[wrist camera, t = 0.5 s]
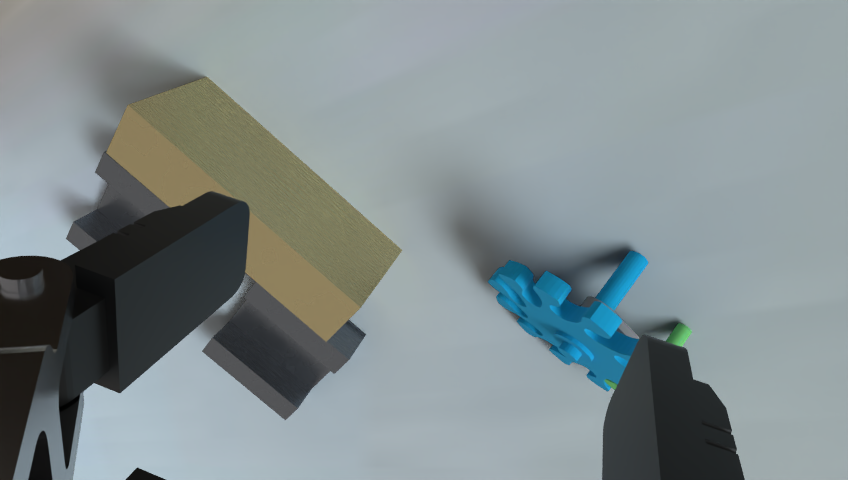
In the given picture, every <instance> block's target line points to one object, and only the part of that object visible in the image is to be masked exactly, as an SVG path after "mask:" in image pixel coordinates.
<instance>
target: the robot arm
mask: <svg viewBox="0 0 848 480" xmlns="http://www.w3.org/2000/svg"><path fill="white" fill-rule="evenodd" d="M249 219H250V210H249V206H248V204H247V203H246V202H244V201H241V200H238V199H235V198H232V197H229V196H226V195H223V194H220V193H217V192H213V191H209V192H207V193H205V194H203V195H201V196H199V197H197V198H196V199H194V200H192V201H190V202H188V203H186V204H185V205H183V206H181V205H179V206H175V207H171V208H166V209H162V210H158V211H154V212H152V213H150V214H148V215H146V216H144V217H142V218H140V219H139V220H137V221H135V222H134V224H133V225H132V224H129V225H127V226H125V227H123V228H122V229H120V230H118V232H117V234H116V233H112V234H110V235H108V236H106V237H104V238H103V239H101V240H99V241H97V242H95V243H93V244H91V245H89V246H87V247H86V248H84V249H82V250H80V251H78V252H76V253H74V254H72V255H70V256H68V257H67V258H65V259H63V260H61V261H60V260H57V259H54V258H49V257H43V256H18V257H10V258H5V259H1V260H0V480H73V474H74V468H75V461H76V454H77V448H78V441H79V434H80V428H81V421H82V414H83V408H84V396H83V391H84V390H86V389H87V388H88V387H89V386H91V385H92V384H93V383H96V384H98V385H101V386H103V387H106V388H108V389H110V390H113V391H115V392H118V393H121V392H122V391H123V390H124V389H125V388H127V387H128V386H129V385H130V384H131V383H132V382H134V381H135V380H136V379H137V378H138V377H139V376H141V375H142V374H143V373H144V372H145V371H146V370H148V369H149V368H150V367H151V366H152V365H153V364H155V363H156V362H157V361H158V360H159V359H160V358H162V357H163V356H164V355H165V354H166V353H167V352H168V351H170V350H171V349H172V348H173V347H174V346H175V345H177V344H178V343H179V342H180V341H181V340H182V339H184V338H185V337H186V336H187V335H188V334H189V333H191V332H192V331H193V330H194V329H195V328H196V327H198V326H199V325H200V324H201V323H202V322H203V321H204V320H206V319H207V318H208V317H209V316H210V315H211V314H213V313H214V312H215V311H216V310H217V309H218V308H220V307H221V306H222V305H223V304H224V303H225V302H227V301H228V300H229V299H230V298H231V297H232V296H233V295H234V294H235V293H236V292H237V290H238V289H239V287H240V285H241V283H242V280H243V278H244V274H245V270H246V259H247V246H248V232H249ZM731 432H732V429H731V425H730V421H729V418H728V414H727V410H726V407H725V406H724V405H723V403H722V402H721V401H720V399H719V398H718V396H717V395H716V394H715V392H714V391H713V390H712V388H711V387H710V386H709V385H708V384H705V383H702V382H699V381H696V380H693V376H692V371H691V366H690V361H689V356H688V352H687V349H686V348H684V347H681V346H678V345H675V344H672V343H669V342H666V341H663V340H660V339H657V338H654V337H651V336H648V335H643V336H642V337H641V338H640V339H639V341H638V342H637V344H636V346H635V348H634V351H633V353H632V355H631V357H630V359H629V361H628V363H627V366H626V368H625V370H624V372H623V374H622V376H621V378H620V381H619V383H618V385H617V387H616V389H615V391H614V393H613V395H612V398H611V400H610V403H609V406H608V409H607V412H606V416H605V421H604V428H603V468H602V480H745V479H744V475H743V471H742V468H741V464H740V460H739V456H738V454H736V450H737V448H736V445H735V441H734V437H733V435H731ZM126 480H165V479H163V478H161V477H158V476H156V475H153V474H151V473H149V472H146V471H144V470H142V469H139V468H136V469H135V470H134V471H133V472H132V474H131V475H130V476H129V477H128V478H127V479H126Z"/></svg>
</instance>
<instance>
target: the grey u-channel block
mask: <svg viewBox="0 0 848 480" xmlns="http://www.w3.org/2000/svg"><path fill="white" fill-rule="evenodd" d="M106 152H107V151H105V152H104V153H103V155H102V158H101V160H100V162H99V164H98V167H97V169H96V171H95V173H96V174H98V175H99V176H100V177H101V178H102V179H104V180H105V181H106V182H107V183H108V184H109V185H108V187H107V189H106V191H105V194H104V196H103V198H102V200H101V202H100V204H99V207H98V209H97V210H95V211H93V212H91V213H90V214H88V215H86V216H84V217H82V218H80V219H78V220H76V221H74V222H73V224H72V226H71V229H70V231H69V233H68V235H67V238H66V239H67V240H68V241H69V242H71V243H72V244H73V245H74V246H75V247H77V248H78V249H79V250H82V249H84V248H86V247H87V246H89V245H91V244H93V243H95V242H97V241H99V240H101V239H103V238H104V237H106V236H108V235H110V234H112V233H116V234H117V232H118V230H120V229H122V228H123V227H125V226H127V225H129V224H132V225H133V224H134V222H135V221H137V220H139V219H140V218H142V217H144V216H146V215H148V214H150V213H152V212H154V211H158V210H162V209H166V208H170V207H169V206H167V205H166V204H165V203H164V202H163V201H162V200H160V199H159V198H158V197H157V196H156V195H155V194H153V193H152V192H151V191H150V190H149V189H148V188H146V187H145V186H144V185H143V184H142V183H141V182H139V181H138V180H137V179H136V178H135V177H134V176H132V175H131V174H130V173H129V172H128V171H127V170H125V169H124V168H123V167H122V166H121V165H120V164H118V163H117V162H116V161H115V160H114V159H113V158H112V157H110V156H109V155H108V154H107V153H106ZM244 298H245V299H246V301H245V302H244V303H243V305H242V306H241V307H240V309H239V310H238V311H237V312H236V314H235V315H234V316H233V318H232V319H231V320H230V321H229V322H228V323H227V324H226V325H225V326H224V327H223V328H222V329H221V330H220V331H219V332H218V333H217V334H216V335H215V336H214V337H213V338H212V339H211V340H210V342H209V343H208V344H207V346H206V347H205V348H204V349H203V351H202V352H204V353H205V354H206V355H207V356H208V357H210V358H211V359H212V360H213V361H214V362H216V363H217V364H218V365H219V366H221V367H222V368H223V369H224V370H225V371H227V372H228V373H229V374H230V375H231V376H233V377H234V378H235V379H236V380H237V381H239V382H240V383H241V384H242V385H243V386H245V387H246V388H247V389H248V390H250V391H251V392H252V393H253V394H254V395H256V396H257V397H258V398H259V399H260V400H262V401H263V402H264V403H265V404H266V405H268V406H269V407H270V408H271V409H272V410H274V411H275V412H276V413H277V414H279V415H280V416H281V417H282V418H283V419H285V420H286V419H287V418H288V417H289V416H290V415H291V414H292V413H293V412H295V411H296V410H297V409H298V407H299V406H300V405H301V403H302V402H303V400H304V399H305V397H306V396H307V395H308V393H309V392H310V390H311V389H312V388H313V387H314V386H315V385H316V384H317V383H318V382H319V381H320V380H321V379H322V378H323V377H324V376H325V375H326V374H328V373H329V372H330V371H331V372H333V373H334V374H335V373H336V372H337V371H338V370H339V369H340V368H341V367H342V366H343V365H344V364H345V363H346V362H347V361H348V360H349V359H350V358H351V356H352V355H353V353H354V352H355V350H356V349H357V347H358V346H359V344H360V343H361V341H362V340H363V338H364V337H365V335H366V334H364V333H363V332H362V331H361V330H360V329H359V328H357V327H356V326H355V325H354V324H353V323H352V322H350V321H349V320H348V321H347V322H346V323H345V324H344V325H343V326H342V327H341V328H340V329H339V330H338V331H337V332H336V333H335V334H334V335H333V336H332V337H331V338H330V339H329V340H328V341H327V342H326V341H325V340H323V339H322V338H321V337H320V336H319V335H318V334H316V333H315V332H314V331H313V330H312V329H311V328H309V327H308V326H307V325H306V324H305V323H304V322H302V321H301V320H300V319H299V318H298V317H297V316H295V315H294V314H293V313H292V312H291V311H290V310H288V309H287V308H286V307H285V306H284V305H283V304H281V303H280V302H279V301H278V300H277V299H276V298H274V297H273V296H272V295H271V294H270V293H269V292H267V291H266V290H265V289H264V288H263V287H262V286H261V285H259V284H258V283H257V282H255V283H254V285H253V286H252V287H251V289H250V290H249V291H248V293H247V294H246V295H245V296H244Z"/></svg>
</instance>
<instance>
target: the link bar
mask: <svg viewBox="0 0 848 480" xmlns="http://www.w3.org/2000/svg"><path fill="white" fill-rule="evenodd" d="M106 153H107V154H108V155H109V156H110V157H112V158H113V159H114V160H115V161H116V162H117V163H118V164H120V165H121V166H122V167H123V168H124V169H125V170H127V171H128V172H129V173H130V174H131V175H132V176H134V177H135V178H136V179H137V180H138V181H139V182H141V183H142V184H143V185H144V186H145V187H146V188H148V189H149V190H150V191H151V192H152V193H153V194H155V195H156V196H157V197H158V198H159V199H160V200H162V201H163V202H164V203H165V204H166V205H167V206H169V207H170V208H171V207H175V206H179V205H181V206H183V205H185V204H186V203H188V202H190V201H192V200H194V199H196V198H197V197H199V196H201V195H203V194H205V193H207V192H209V191H213V192H217V193H220V194H223V195H226V196H229V197H232V198H235V199H238V200H241V201H244V202H246V203H247V204H248V206H249V210H250V219H249V232H248V246H247V259H246V270H245V273H247V274H248V275H249V276H250V277H251V278H252V279H254V280H255V281H256V282H257V283H258V284H259V285H261V286H262V287H263V288H264V289H265V290H266V291H267V292H269V293H270V294H271V295H272V296H273V297H274V298H276V299H277V300H278V301H279V302H280V303H281V304H283V305H284V306H285V307H286V308H287V309H288V310H290V311H291V312H292V313H293V314H294V315H295V316H297V317H298V318H299V319H300V320H301V321H302V322H304V323H305V324H306V325H307V326H308V327H309V328H311V329H312V330H313V331H314V332H315V333H316V334H318V335H319V336H320V337H321V338H322V339H323V340H325V341H326V342H327V341H328V340H329V339H330V338H331V337H332V336H333V335H334V334H335V333H336V332H337V331H338V330H339V329H340V328H341V327H342V326H343V325H344V324H345V323H346V322H347V321H348V320H349V319H350V318H351V317H352V316H353V315H354V314H355V313H356V312H357V311H358V310H359V309H360V308H361V306H362V305H363V304H364V302H365V301H366V300H367V298H368V297H369V295H370V294H371V293H372V291H373V290H374V289H375V287H376V286H377V284H378V283H379V282H380V280H381V279H382V278H383V276H384V275H385V273H386V272H387V271H388V269H389V268H390V266H391V265H392V264H393V262H394V261H395V260H396V258H397V257H398V255H399V254H400V253H401V251H402V250H401V249H400V248H399V247H398V246H397V245H396V244H395V243H393V242H392V241H391V240H390V239H389V238H388V237H387V236H386V235H384V234H383V233H382V232H381V231H380V230H379V229H378V228H377V227H375V226H374V225H373V224H372V223H371V222H370V221H369V220H368V219H366V218H365V217H364V216H363V215H362V214H361V213H360V212H359V211H357V210H356V209H355V208H354V207H353V206H352V205H351V204H350V203H348V202H347V201H346V200H345V199H344V198H343V197H342V196H341V195H339V194H338V193H337V192H336V191H335V190H334V189H333V188H332V187H330V186H329V185H328V184H327V183H326V182H325V181H324V180H323V179H321V178H320V177H319V176H318V175H317V174H316V173H315V172H314V171H312V170H311V169H310V168H309V167H308V166H307V165H306V164H305V163H303V162H302V161H301V160H300V159H299V158H298V157H297V156H296V155H294V154H293V153H292V152H291V151H290V150H289V149H288V148H287V147H285V146H284V145H283V144H282V143H281V142H280V141H279V140H278V139H276V138H275V137H274V136H273V135H272V134H271V133H270V132H269V131H267V130H266V129H265V128H264V127H263V126H262V125H261V124H260V123H258V122H257V121H256V120H255V119H254V118H253V117H252V116H251V115H249V114H248V113H247V112H246V111H245V110H244V109H243V108H242V107H240V106H239V105H238V104H237V103H236V102H235V101H234V100H233V99H231V98H230V97H229V96H228V95H227V94H226V93H225V92H224V91H222V90H221V89H220V88H219V87H218V86H217V85H216V84H215V83H213V82H212V81H211V80H210V79H209V78H208V77H205V78H202V79H200V80H197V81H194V82H191V83H188V84H185V85H183V86H180V87H177V88H174V89H171V90H169V91H166V92H163V93H160V94H157V95H154V96H152V97H149V98H146V99H143V100H140V101H138V102H135V103H132V104H129V105H128V106H127V108H126V110H125V112H124V114H123V117H122V119H121V121H120V123H119V125H118V128H117V130H116V132H115V134H114V136H113V139H112V141H111V143H110V145H109V147H108V150H107V152H106Z"/></svg>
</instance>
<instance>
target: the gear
mask: <svg viewBox="0 0 848 480" xmlns="http://www.w3.org/2000/svg"><path fill="white" fill-rule="evenodd" d="M647 264H648V261H647V259H646V258H645V257H644V256H642V255H641V254H639V253H637V252H635V251H630V252H629V253H628V254H627V256H626V257H625V258H624V260H623V261H622V262H621V264H620V265H619V266H618V268H617V269H616V270H615V272H614V273H613V274H612V276H611V277H610V279H609V280H608V281H607V283H606V284H605V285H604V287H603V288H602V289H601V291H600V292H599V293H598V295H597V296H596V297H595V298H594V297H587V298H586V300H585V301H584V302H583V304H582V305H581V306H577V305H575V304H573V303H571V302H570V301H568V300H567V299H566V297H567V296H568V294H569V293H570V292H571V287H570V285H568V284H567V283H566V282H564V281H563V280H561V279H560V278H558V277H557V276H555V275H553V274H551V273H550V272H548V271H545V272H544V274H543V275H542V276H541V277H540V279H539V280H538V281H537V283H536V284H535V283H534V282H533V277H534V275H533V273H532V272H531V271H530V270H529V269H528V268H527V267H526V266H524V265H522V264H520V263H518V262H515V261H511V260H509V262H508V263H507V264H506V265H505V267H500V268H498V270H497V271H496V272H495V273H494V275H493V276H492V277H491V278H490V280H489V281H488V283H489V284H490V285H491V286H492V287H494V288H495V289H496V290H498V291H499V292H500V293H499V294H498V295H497V297H496V298H497V301H498V302H499V304H501V305H502V306H503V307H504V308H506V309H508V310H509V311H511V312H513V313H515V314H517V315H518V316H520V318H519V319H518V320H517V322H518V323H519V325H520V326H521V327H522V328H523V329H524V330H525V331H526V332H527V333H529V334H530V335H532V336H534V337H539V338H542V339H544V340H546V341H548V342H549V343H551V344H553V345H552V346H551V348H550V349H549V350H550V351H551V352H552V353H553V354H554V355H555V356H556V357H558V358H559V359H560V360H561V361H562V362H564V363H565V364H568V365H570V364H571V362H575V363H578V364H580V365H583V366H585V367H586V368H588V369H589V370H590V371H589V373H588V374H587V377H588V378H589V379H590V380H591V381H592V382H594V383H595V384H597V385H598V386H600V387H601V388H603V389H604V390H606V391H609V390H610V388H613V389H614V390H615V389H616V387H617V385H618V383H619V381H620V378H621V376H622V374H623V372H624V370H625V368H626V366H627V363H628V361H629V359H630V357H631V355H632V353H633V351H634V348H635V346H636V344H637V342H638V341H639V339H640V337H639V336H638V335H637V334H636V333H635V332H634V331H633V330H632V329H631V328H630V327H629V326H628V325H627V324H626V323H625V322H624V321H623V320H622V319H621V318H620V317H619V316H618V315H617V314H616V313H615V312H614V310H615V309H616V307H617V306H618V304H619V303H620V302H621V300H622V299H623V298H624V296H625V295H626V293H627V292H628V291H629V289H630V288H631V287H632V285H633V284H634V282H635V281H636V280H637V278H638V277H639V276H640V274H641V273H642V271H643V270H644V269H645V267H646V266H647ZM691 332H692V331H691V330H690V329H689V328H688V327H687V326H685V325H683V324H680V323H678V324H677V326H676V327H675V329H674V330H673V332H672V333H671V334H670V336H669V337H668V339H667V340H666V342H669V343H672V344H675V345H678V346H681V347H682V346H683V344H684V343H685V341H686V340H687V338H688V337H689V335H690V334H691Z"/></svg>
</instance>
